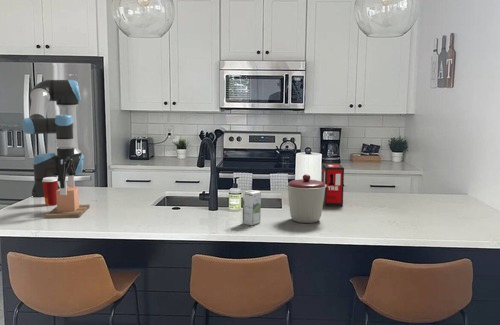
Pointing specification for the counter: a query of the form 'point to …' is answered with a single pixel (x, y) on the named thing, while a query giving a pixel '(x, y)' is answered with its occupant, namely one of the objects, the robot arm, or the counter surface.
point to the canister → (306, 199)
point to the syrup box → (251, 207)
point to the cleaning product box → (333, 183)
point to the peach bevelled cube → (68, 200)
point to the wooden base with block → (68, 212)
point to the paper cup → (50, 190)
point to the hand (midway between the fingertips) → (67, 191)
